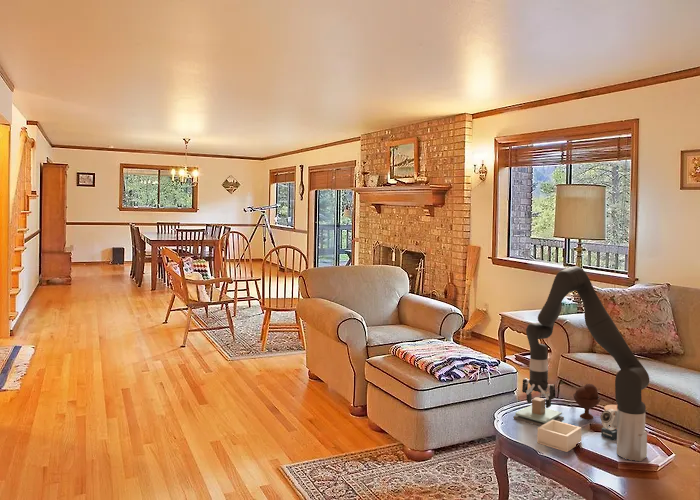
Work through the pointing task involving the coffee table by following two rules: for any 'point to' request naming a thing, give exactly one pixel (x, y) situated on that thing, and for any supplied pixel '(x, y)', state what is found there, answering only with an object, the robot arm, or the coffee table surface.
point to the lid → (538, 411)
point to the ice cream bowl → (587, 399)
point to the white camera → (611, 408)
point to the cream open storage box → (559, 435)
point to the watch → (606, 420)
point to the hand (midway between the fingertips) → (538, 405)
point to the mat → (535, 420)
